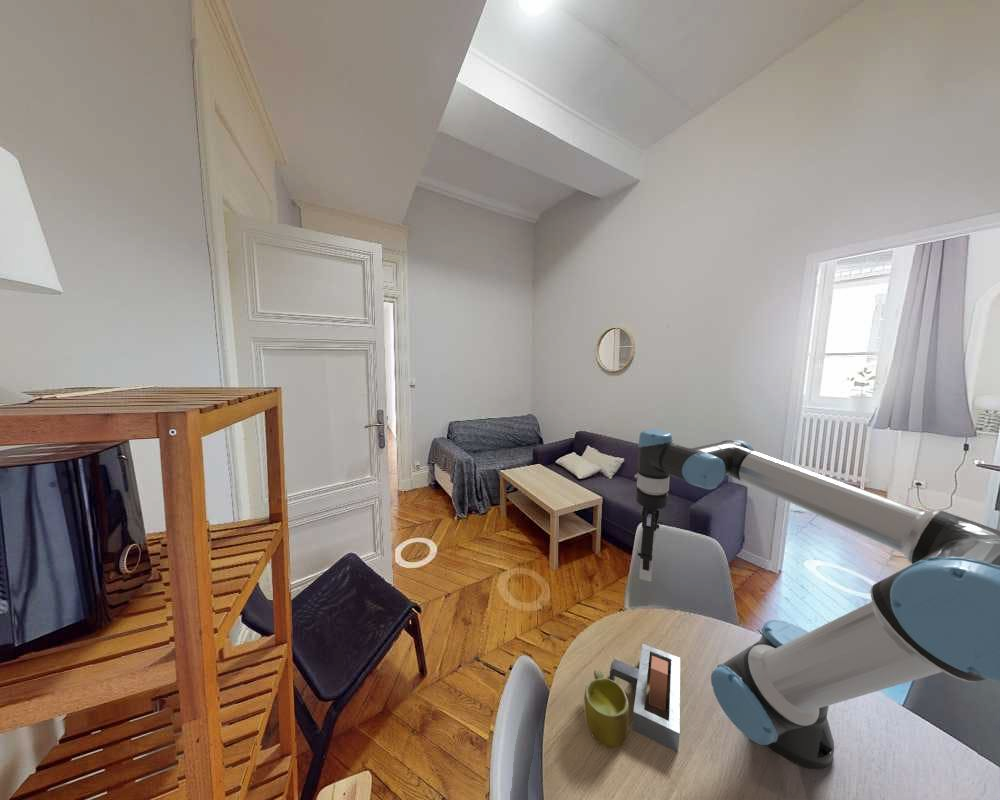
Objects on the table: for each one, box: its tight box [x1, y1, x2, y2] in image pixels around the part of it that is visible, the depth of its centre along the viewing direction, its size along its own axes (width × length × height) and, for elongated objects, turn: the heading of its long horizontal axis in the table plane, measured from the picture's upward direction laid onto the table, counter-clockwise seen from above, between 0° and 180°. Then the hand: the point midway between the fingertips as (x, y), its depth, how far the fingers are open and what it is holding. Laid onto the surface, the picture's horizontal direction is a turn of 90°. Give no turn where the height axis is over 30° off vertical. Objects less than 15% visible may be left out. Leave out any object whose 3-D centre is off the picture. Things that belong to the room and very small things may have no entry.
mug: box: [583, 669, 630, 749], centre depth 75 cm, size 12×10×10 cm
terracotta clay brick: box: [648, 656, 669, 712], centre depth 79 cm, size 4×4×10 cm
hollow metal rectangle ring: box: [609, 643, 681, 753], centre depth 81 cm, size 16×19×5 cm
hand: (647, 563), depth 89 cm, fingers open, 13 cm apart
